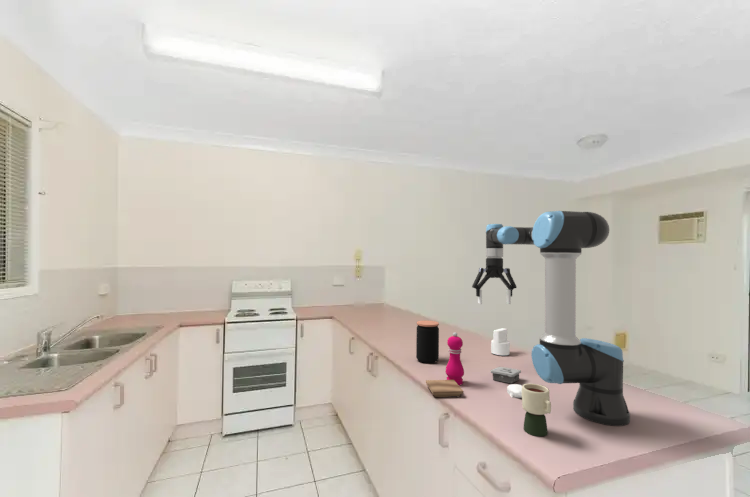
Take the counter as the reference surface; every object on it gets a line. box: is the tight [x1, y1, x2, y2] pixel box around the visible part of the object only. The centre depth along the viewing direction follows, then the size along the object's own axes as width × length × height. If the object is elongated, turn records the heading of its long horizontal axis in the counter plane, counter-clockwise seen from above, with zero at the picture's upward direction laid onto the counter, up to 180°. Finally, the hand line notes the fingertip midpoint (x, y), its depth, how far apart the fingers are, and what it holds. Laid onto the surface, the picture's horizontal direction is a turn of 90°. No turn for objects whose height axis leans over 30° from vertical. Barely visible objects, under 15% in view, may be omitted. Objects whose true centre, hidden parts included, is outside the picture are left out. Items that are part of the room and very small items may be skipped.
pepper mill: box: [445, 331, 465, 386], centre depth 136 cm, size 7×7×20 cm
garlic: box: [506, 383, 523, 399], centre depth 124 cm, size 8×7×4 cm
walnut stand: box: [425, 379, 465, 398], centre depth 126 cm, size 11×11×2 cm
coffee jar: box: [415, 320, 440, 364], centre depth 165 cm, size 11×11×18 cm
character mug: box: [521, 383, 552, 437], centre depth 98 cm, size 11×7×13 cm, turn 17°
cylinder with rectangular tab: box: [490, 327, 511, 356], centre depth 178 cm, size 9×9×12 cm
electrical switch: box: [490, 366, 522, 385], centre depth 140 cm, size 9×5×9 cm
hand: (494, 303), depth 158 cm, fingers open, 13 cm apart
